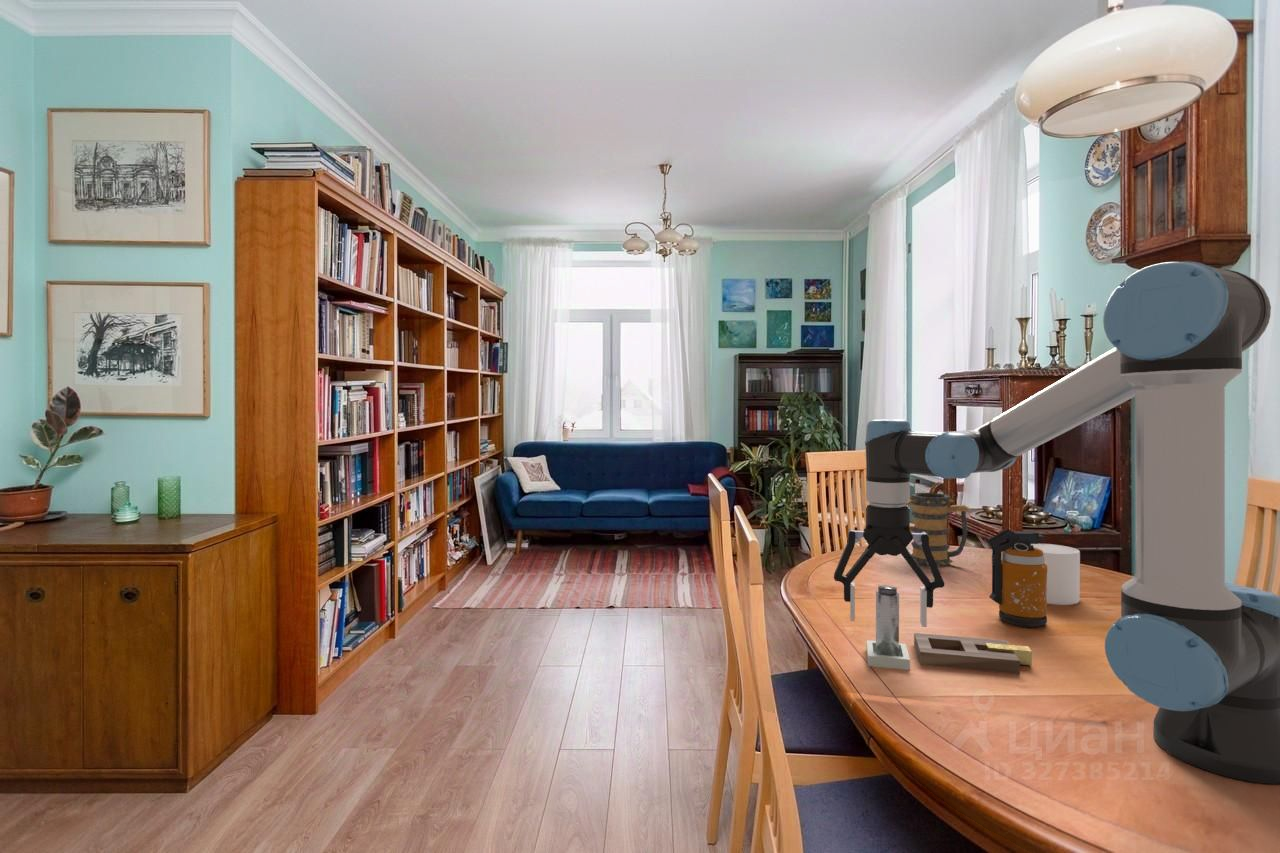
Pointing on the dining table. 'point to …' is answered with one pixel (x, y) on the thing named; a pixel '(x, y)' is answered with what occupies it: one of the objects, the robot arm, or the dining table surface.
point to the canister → (1019, 578)
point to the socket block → (964, 653)
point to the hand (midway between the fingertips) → (887, 621)
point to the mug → (935, 526)
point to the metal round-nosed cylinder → (887, 621)
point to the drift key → (1013, 651)
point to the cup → (1061, 573)
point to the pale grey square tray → (888, 657)
